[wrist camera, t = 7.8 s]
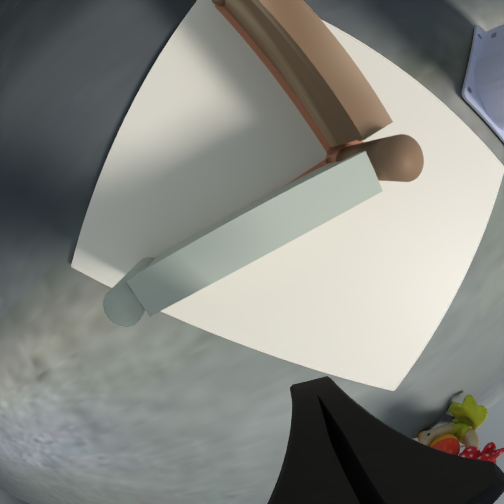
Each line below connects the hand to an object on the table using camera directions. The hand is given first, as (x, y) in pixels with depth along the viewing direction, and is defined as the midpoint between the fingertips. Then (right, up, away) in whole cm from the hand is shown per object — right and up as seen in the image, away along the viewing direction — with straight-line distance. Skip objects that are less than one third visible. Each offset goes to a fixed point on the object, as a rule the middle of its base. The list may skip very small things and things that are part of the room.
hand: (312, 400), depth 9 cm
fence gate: (-3, +7, +7) cm, 10 cm away
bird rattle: (+18, -13, +14) cm, 27 cm away
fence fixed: (0, +16, +5) cm, 17 cm away
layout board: (+3, +8, +8) cm, 12 cm away
